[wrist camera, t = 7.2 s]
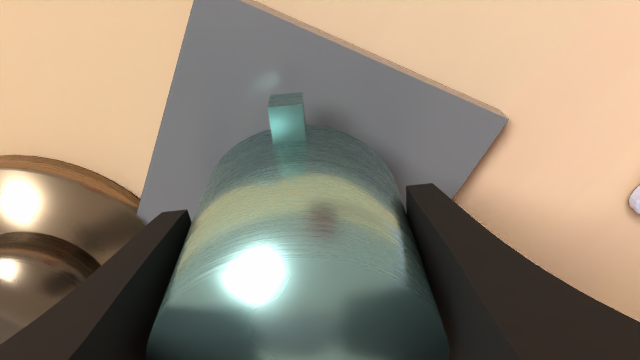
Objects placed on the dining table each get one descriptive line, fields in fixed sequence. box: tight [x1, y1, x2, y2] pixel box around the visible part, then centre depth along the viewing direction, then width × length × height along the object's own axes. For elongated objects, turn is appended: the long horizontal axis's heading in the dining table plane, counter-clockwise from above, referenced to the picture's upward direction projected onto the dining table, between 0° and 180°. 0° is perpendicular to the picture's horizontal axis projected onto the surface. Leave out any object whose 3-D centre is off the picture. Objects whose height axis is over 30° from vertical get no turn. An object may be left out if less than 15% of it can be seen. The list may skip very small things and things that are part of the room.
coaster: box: [137, 0, 509, 224], centre depth 12 cm, size 8×8×1 cm
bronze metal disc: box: [0, 155, 147, 344], centre depth 13 cm, size 8×8×2 cm
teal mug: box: [146, 92, 449, 360], centre depth 9 cm, size 7×5×4 cm
